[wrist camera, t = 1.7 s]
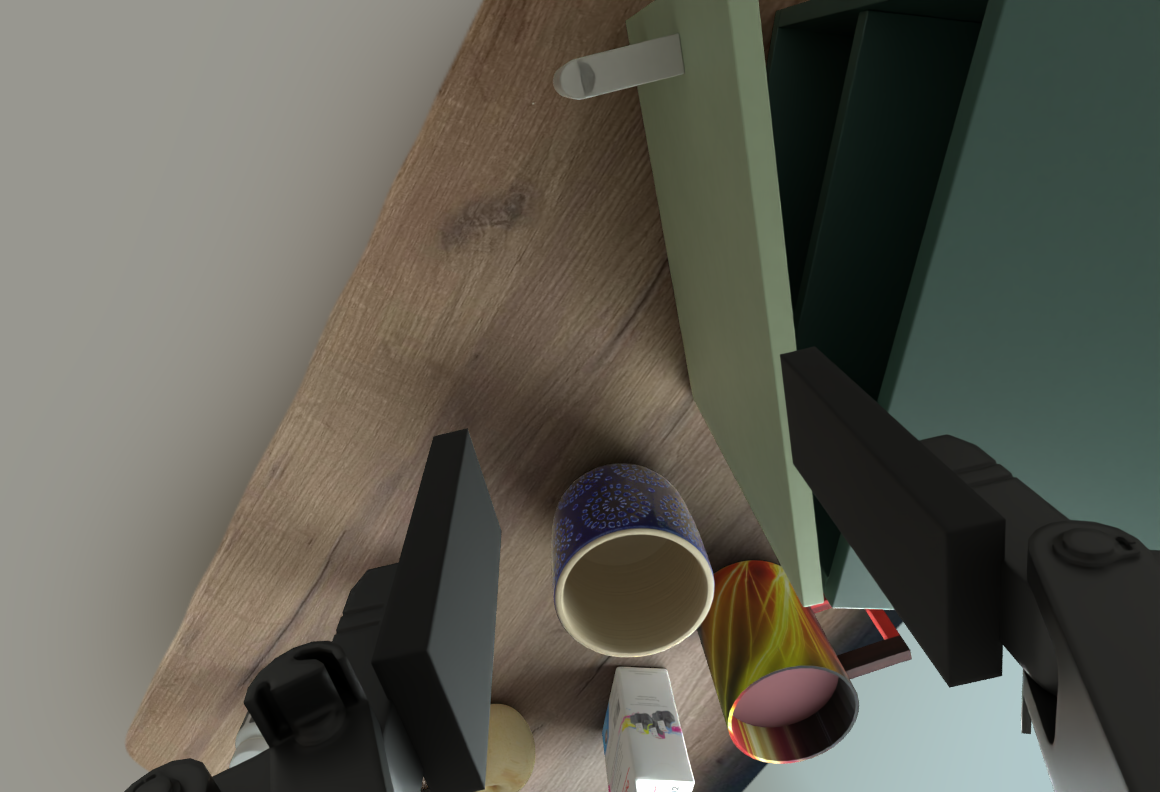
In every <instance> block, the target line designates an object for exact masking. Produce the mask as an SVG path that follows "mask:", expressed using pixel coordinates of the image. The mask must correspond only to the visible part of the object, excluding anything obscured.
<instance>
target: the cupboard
mask: <svg viewBox="0 0 1160 792" xmlns="http://www.w3.org/2000/svg"><path fill="white" fill-rule="evenodd" d="M766 74H767V83H768V92H769V101H770V111H771V120H772V129H773V138H774V147H775V156H776V166H777V175H778V184H779V193H780V202H781V211H782V221H783V230H784V239H785V248H786V257H787V266H788V276H789V285H790V294H791V303H792V312H793V321H794V330H795V340H796V349H797V350H801V349H806V348H810V347H814V346H815V347H816V348H817V349H818V350H820V351H821V352H822V353H823V354H824V355H825V356H826V357H827V358H828V359H830V360H831V361H832V362H833V363H834V364H835V365H836V366H837V367H838V368H839V369H841V370H842V371H843V372H844V373H845V374H846V375H847V376H848V377H849V378H850V379H852V380H853V381H854V382H855V383H856V384H857V385H858V386H859V387H860V388H862V389H863V390H864V391H865V392H866V393H867V394H868V395H869V396H870V397H871V398H873V399H874V400H875V401H876V402H877V403H878V404H879V405H880V406H881V407H882V408H884V409H885V410H886V411H887V412H888V413H889V414H890V415H891V416H892V417H894V418H895V419H896V420H897V421H898V422H899V423H900V424H901V425H902V426H903V427H905V428H906V429H907V430H908V431H909V432H910V433H911V434H912V435H913V436H914V437H916V438H917V439H918V440H923V439H928V438H932V437H936V436H941V435H945V434H949V435H952V436H954V437H957V438H959V439H962V440H965V441H967V442H970V443H973V444H975V445H977V446H978V447H979V448H981V449H982V450H983V451H984V452H986V453H987V454H988V455H989V456H991V457H992V458H993V459H994V460H996V463H997V464H1001V465H1002V466H1003V467H1004V468H1006V469H1007V470H1008V471H1009V472H1011V473H1012V475H1013V477H1017V478H1018V479H1019V480H1021V481H1022V482H1023V483H1024V484H1026V485H1027V486H1028V487H1030V488H1031V489H1032V490H1033V491H1035V492H1036V493H1037V494H1038V495H1040V496H1041V497H1042V498H1043V499H1045V500H1046V501H1047V502H1048V503H1050V504H1051V505H1052V506H1053V507H1055V508H1056V509H1057V510H1058V511H1060V512H1061V513H1062V514H1063V515H1065V516H1066V517H1067V518H1068V519H1070V520H1079V521H1092V522H1097V523H1101V524H1105V525H1109V526H1112V527H1116V528H1119V529H1121V530H1123V531H1124V532H1126V533H1128V534H1130V535H1132V536H1134V537H1136V538H1138V539H1139V540H1140V541H1141V542H1142V543H1143V544H1144V545H1145V546H1146V547H1147V548H1148V549H1149V550H1160V0H810V1H806V2H803V3H800V4H797V5H794V6H790V7H787V8H784V9H781V10H778V11H776V14H775V20H774V26H773V31H772V37H771V43H770V48H769V54H768V60H767V66H766ZM812 495H813V505H814V514H815V523H816V532H817V541H818V550H819V560H820V569H821V578H822V587H823V593H824V595H825V597H826V599H827V600H828V602H829V604H830V606H831V607H832V608H857V609H892V610H895V609H894V608H893V606H892V605H891V603H890V602H889V600H888V599H887V598H886V596H885V595H884V593H883V592H882V590H881V589H880V588H879V586H878V585H877V583H876V582H875V580H874V579H873V578H872V576H871V575H870V573H869V572H868V570H867V569H866V568H865V566H864V565H863V563H862V562H861V560H860V559H859V558H858V556H857V555H856V553H855V552H854V550H853V549H852V548H851V546H850V545H849V543H848V542H847V540H846V539H845V538H844V536H843V535H842V533H841V532H840V530H839V529H838V528H837V526H836V525H835V523H834V522H833V520H832V519H831V518H830V516H829V515H828V513H827V512H826V510H825V509H824V508H823V506H822V505H821V503H820V502H819V500H818V499H817V498H816V496H815V495H814V493H813V492H812Z"/></svg>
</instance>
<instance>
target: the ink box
mask: <svg viewBox="0 0 1160 792" xmlns="http://www.w3.org/2000/svg"><path fill="white" fill-rule="evenodd" d="M602 736H603V745H604V754H605V762H606V771H607V779H608V787H609V792H692V789H693V786H694V777H693V774H692V770H691V766H690V762H689V758H688V754H687V750H686V746H685V742H684V738H683V734H682V730H681V726H680V721H679V717H678V713H677V709H676V705H675V701H674V697H673V693H672V688H671V684H670V680H669V676H668V672H667V669H658V668H636V667H617V668H616V672H615V676H614V681H613V685H612V690H611V694H610V699H609V703H608V708H607V712H606V717H605V721H604V726H603V731H602Z"/></svg>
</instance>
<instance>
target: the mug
mask: <svg viewBox="0 0 1160 792" xmlns="http://www.w3.org/2000/svg"><path fill="white" fill-rule="evenodd" d="M713 575H714V582H715V590H714V597H713V602H712V605H711V607H710V610H709V612H708V614H707V616H706V617H705V619H704V620H703V622H702V623H701V624H700V626H699V627H698V628H697V631H698V634H699V637H700V640H701V644H702V647H703V650H704V653H705V657H706V660H707V663H708V666H709V670H710V673H711V676H712V679H713V682H714V686H715V689H716V692H717V695H718V699H719V702H720V705H721V708H722V712H723V715H724V718H725V721H726V725H727V728H728V731H729V734H730V737H731V739H732V741H733V742H734V744H735V745H736V747H737V748H738V749H739V750H741V751H742V752H743V753H744V754H746V755H748V756H750V757H751V758H753V759H756V760H760V761H763V762H768V763H793V762H799V761H803V760H807V759H810V758H813V757H815V756H818V755H820V754H823V753H824V752H826V751H828V750H829V749H831V748H833V747H834V746H835V745H836V744H838V743H839V742H840V741H841V740H842V739H843V738H844V737H845V736H846V735H847V734H848V733H849V731H850V730H851V728H852V727H853V725H854V723H855V721H856V718H857V715H858V712H859V700H858V695H857V692H856V690H855V689H854V687H853V685H852V683H851V681H850V679H853V678H855V677H858V676H862V675H864V674H868V673H870V672H873V671H876V670H879V669H882V668H885V667H888V666H891V665H894V664H897V663H900V662H904V661H907V660H911V659H912V658H911V652H910V649H909V648H908V646H907V645H906V643H905V642H904V640H903V639H902V637H901V636H900V634H899V633H898V631H897V630H896V628H895V627H894V625H893V624H892V622H891V621H890V619H889V618H888V617H887V615H886V614H885V612H884V611H883V609H865V610H866V612H867V613H868V615H869V616H870V618H871V619H872V621H873V622H874V624H875V626H876V627H877V629H878V630H879V632H880V633H881V635H882V636H883V638H884V640H882V641H879V642H876V643H873V644H870V645H867V646H864V647H862V648H859V649H856V650H853V651H850V652H847V653H844V654H841V655H838V656H837V655H836V653H835V651H834V650H833V648H832V646H831V644H830V642H829V640H828V639H827V637H826V635H825V633H824V631H823V629H822V627H821V626H820V624H819V622H818V620H817V618H816V616H815V614H814V613H817V612H820V611H823V610H826V609H829V608H832V607H831V606H830V604H829V602H828V600H827V599H826V597H825V595H824V593H823V596H824V603H821V604H816V605H812V606H808V607H803V606H802V604H801V602H800V600H799V598H798V596H797V595H796V593H795V591H794V589H793V587H792V585H791V583H790V581H789V579H788V577H787V576H786V574H785V572H784V570H783V568H782V566H779V565H777V564H774V563H772V562H767V561H762V560H749V561H742V562H738V563H734V564H731V565H728V566H726V567H724V568H722V569H720V570H719V571H717V572H716V573H714V574H713Z"/></svg>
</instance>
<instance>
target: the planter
mask: <svg viewBox="0 0 1160 792" xmlns="http://www.w3.org/2000/svg"><path fill="white" fill-rule="evenodd" d="M551 571H552V587H553V598H554V605H555V610H556V613H557V616H558V618H559V620H560V622H561V624H562V626H563V627H564V629H565V630H566V631H567V632H568V634H569V635H570V636H571V637H572V638H573V639H575V640H576V641H577V642H578V643H580V644H581V645H583V646H585V647H587V648H588V649H591V650H593V651H595V652H598V653H601V654H605V655H609V656H615V657H641V656H647V655H652V654H655V653H659V652H662V651H664V650H667V649H669V648H671V647H673V646H675V645H677V644H678V643H680V642H682V641H683V640H684V639H686V638H687V637H688V636H690V635H691V634H692V633H693V632H694V631H695V630H696V629H697V628H698V627H699V626H700V624H701V623H702V622H703V620H704V619H705V617H706V616H707V614H708V612H709V610H710V607H711V605H712V602H713V597H714V590H715V582H714V575H713V571H712V568H711V564H710V561H709V558H708V555H707V552H706V550H705V547H704V544H703V542H702V539H701V536H700V534H699V532H698V529H697V527H696V525H695V522H694V520H693V517H692V515H691V513H690V511H689V509H688V507H687V506H686V504H685V502H684V500H683V499H682V497H681V495H680V494H679V492H678V491H677V490H676V488H675V487H674V486H673V485H672V484H671V483H670V482H669V481H668V480H667V479H666V478H665V477H663V476H662V475H660V474H659V473H657V472H655V471H653V470H651V469H649V468H646V467H643V466H640V465H636V464H629V463H615V464H608V465H604V466H601V467H598V468H595V469H593V470H591V471H589V472H587V473H585V474H584V475H582V476H581V477H579V478H578V479H577V480H576V481H575V482H574V483H573V484H572V485H571V486H570V487H569V488H568V489H567V490H566V491H565V493H564V494H563V496H562V497H561V499H560V501H559V503H558V506H557V509H556V512H555V515H554V519H553V527H552V538H551Z"/></svg>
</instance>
